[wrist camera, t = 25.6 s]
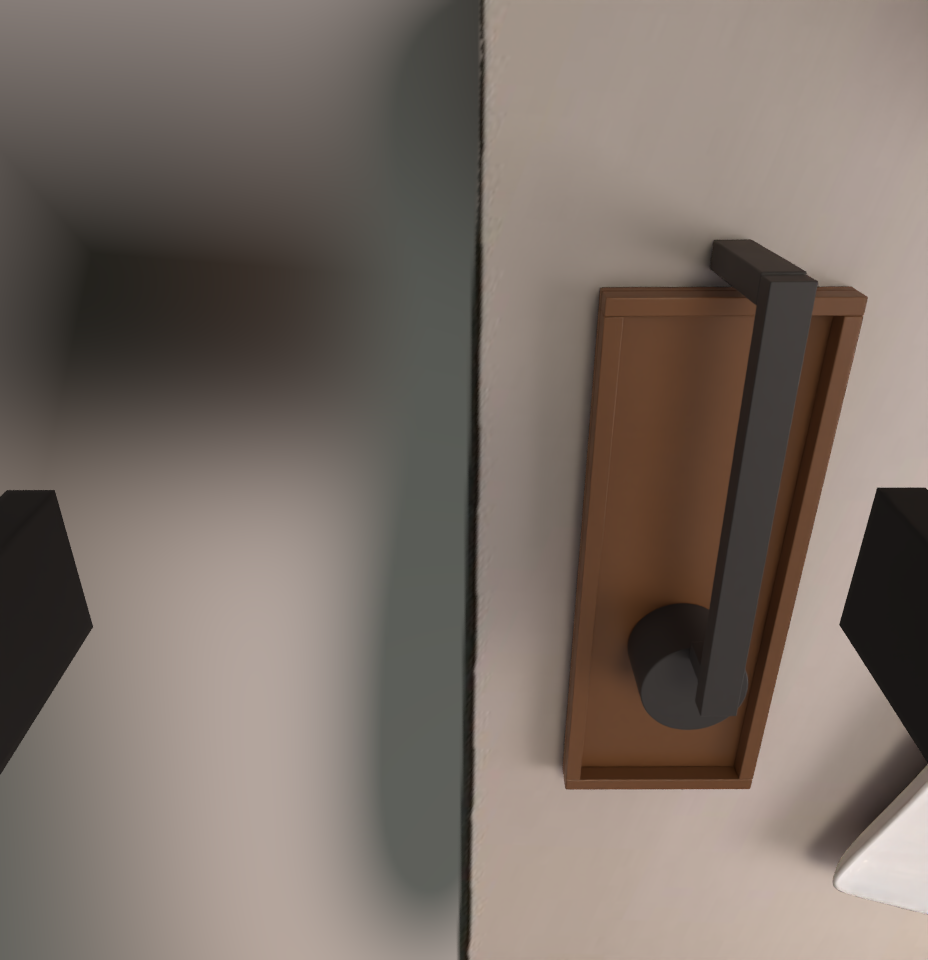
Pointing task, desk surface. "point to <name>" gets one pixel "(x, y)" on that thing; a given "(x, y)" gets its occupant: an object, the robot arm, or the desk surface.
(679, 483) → the spoon rest
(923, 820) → the salad plate
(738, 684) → the ladle
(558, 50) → the desk surface
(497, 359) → the desk surface
